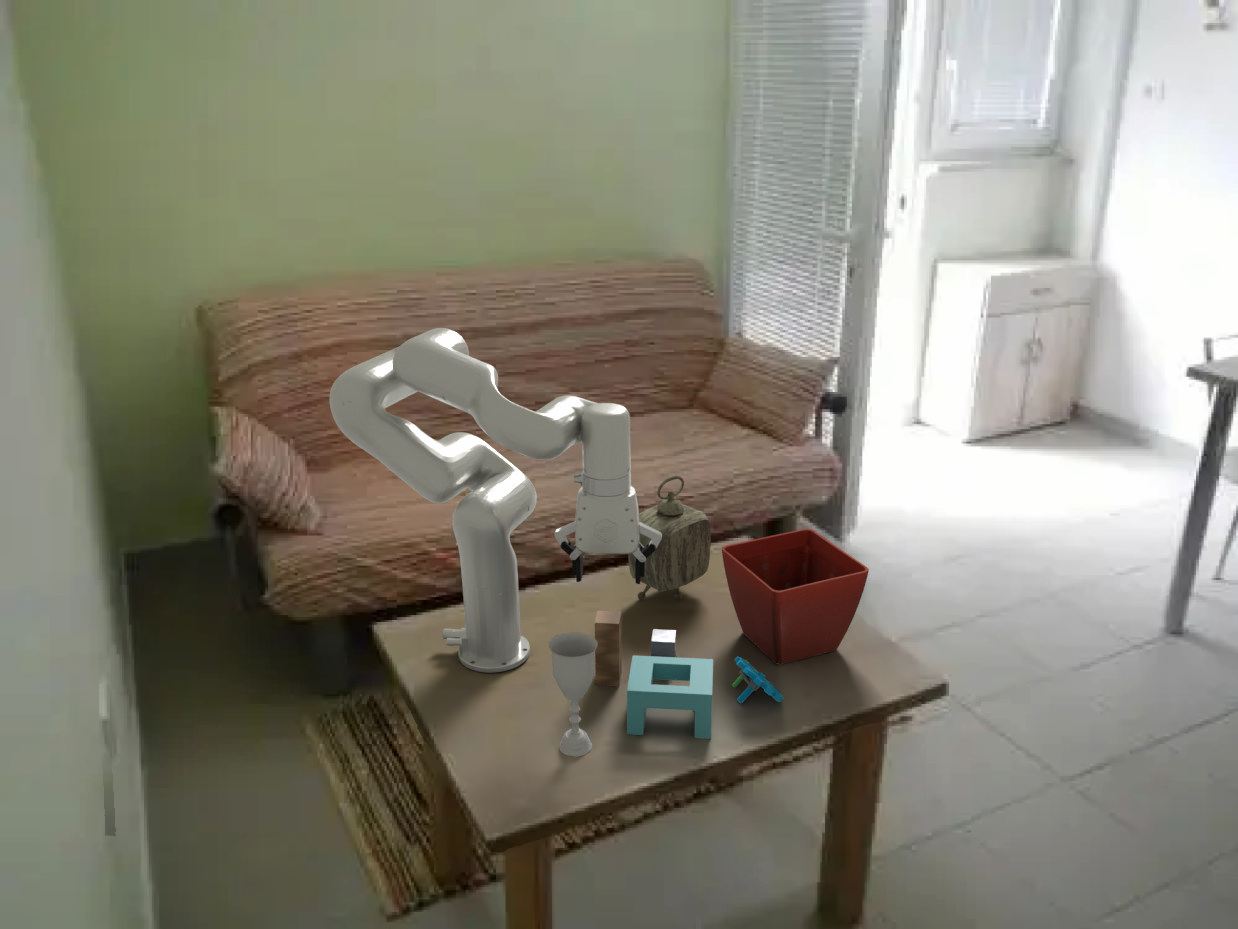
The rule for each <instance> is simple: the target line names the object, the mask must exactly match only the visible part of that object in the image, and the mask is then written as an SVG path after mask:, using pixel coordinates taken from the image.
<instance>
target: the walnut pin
mask: <svg viewBox="0 0 1238 929" xmlns="http://www.w3.org/2000/svg"><path fill="white" fill-rule="evenodd" d="M594 638H595V639H596V641H597V643H598V644H597V648H596V650H595V651H594V672H595V686H603V687H605V686H607V687H608V686H609V687H620V685H621V681H622V680H621V679H622V673H623V672H622V667H623V666H622V665H623V664H622V662H623V660H622V659H623V658H622V655H623V654H622V652H623V650H622V648H623V647H622V611H618V610H617V611H615V610H613V611H612V610H597V611H596V616H595V619H594Z"/></svg>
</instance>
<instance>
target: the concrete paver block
mask: <svg viewBox="0 0 1238 929" xmlns="http://www.w3.org/2000/svg"><path fill="white" fill-rule="evenodd" d="M650 641H651V644H650V646H651V647H650V649H651V650H650V651H651V652H650V653H651V656H656V657H676V655H677V654H676V651H677V648H676V647H677V630H676V629H657V628H653V629H652V635H651V640H650Z"/></svg>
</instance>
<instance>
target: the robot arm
mask: <svg viewBox="0 0 1238 929" xmlns="http://www.w3.org/2000/svg"><path fill="white" fill-rule="evenodd" d="M498 385H499V374H498V371H497V370H496V368H495V366H493V365H491V364H489V363H487V362H484V361H482V360H479V359H478V358H474V357H472V356H470V351H469V347H468V344H467V342H466V341H465V339H464V338H463V336H462V335H460V334H459V333H458V332H456V331H454V330H452V329H450V328H446V327H436V328H433V329H429V330H427V331H425V332H422V333H420V334H418V335H416V336H413V337H411V338H409V339H407V340H406V341H404V342H403V343H402V344H400V346H398V347H395V348H392V349H390V350H388V351H386V352H384V353H382V354H379V355H377V356H375V357H372V358H370V359H368V360H365V361H363V362H361V363H359V364H356V365H354V366H352V367H350V368H349V369H347V370H344V372H343V373H341V374H340V375H339V376H338V377H337V378H336V379H335V381H334V382H333V384H332V386H331V388H330V390H329V407H330V412H331V414H332V417H333V420H334V422H335V424H336V426H337V427H338V429H339V430H340V432H341V433H343V435H344V436H345V437H346V438H347V439H348V440H350V441H351V442H352V443H353V444H354V445H355V446H357V447H359V448H360V449H362V450H363V451H365V452H366V453H367V454H369V455H371V456H372V457H374V459H377V461H379V462H380V463H381V464H382V465H384V466H385V467H386V468H387V469H388V470H390V472H392V473H393V474H394V475H395V476H396V477H398V478H399V479H401V481H403V482H404V483H405V484H406V485H408V486H409V487H410V488H411V489H413V490H414V491H415V492H416V493H418V494H419V495H420V496H421V497H422V498H424V499H426V500H427V501H429V502H431V503H434V504H443V503H446V502H449V501H450V500H452V499H453V498H454V499H455V497H456V496H458V495H459V494H461V493H462V492H463V491H465V490H467V489H469V492H468V493H467V494H466V495H464V497H462V498H461V499H460V500H459V503H457V505H456V507H455V508H454V511H453V514H452V530H453V534H454V537H455V540H456V544H457V547H458V553H459V559H460V561H459V562H460V572H461V573H460V574H461V580H462V596H463V612H464V627H461V629H458V628H457V629H455V628H443V631H442V639H443V640H446V641H445V644H446V646H449V647H456V646H457V647H458V650H457V652H458V659H459V661H460V663H461V664H462V665H463V666H465V667H466V668H468V669H470V670H472V671H474V672H480V673H490V674H492V673H501V672H507V671H509V670H512V669H515V668H518V667H519V666H521V665H522V664H523V663H525V662H526V661H527V660H528V658H529V657H530V654H531V646H530V644H531V643H529V640H528V639H527V638H526V637H525V636H523V635H521V615H520V594H519V574H518V561H517V556H516V553H515V550H514V548H513V546H512V543H511V541H510V540H511V539H510V537H511V533H512V532H513V531H514V530H515V529H517V527H518V526H520V525H521V524H522V523H523V522H524V521H525V520H526V519H527V518H528V517H529V516H530V515H531V514H532V513H533V511H534V510H535V508H536V506H537V501H538V500H537V499H538V497H537V496H538V495H537V491H536V488H535V485H534V484H533V483H532V481H531V480H530V479H529V477H527V475H526V473H523V471H522V470H521V469H519V468H518V467H517V466H515V465H514V464H513V463H512V462H511V461H509V460H508V459H507V458H505V457H504V456H503V455H502V454H501V453H499V452H498V451H497V450H496V449H495V448H494V447H492V446H491V445H490V444H488V443H487V442H486V441H484V440H483V439H481V438H480V437H478V436H477V435H474V434H472V433H469V432H463V431H459V432H458V431H457V432H452V433H450V434H447V435H445V436H443V437H442V438H440V439H439V440H436V439H434V438H432V437H431V436H430V435H428V434H427V433H425V432H424V431H423V430H422V429H420V428H419V426H417V425H416V424H414V423H413V422H412V421H410V420H407V419H405V418H403V417H401V416H398V415H394V414H392V413H390V412H388V411H386V409H387V408H388V407H390V406H391V407H392V405H395V404H396V403H398V402H400V401H402V400H404V399H406V398H408V397H409V396H412V395H414V394H416V393H418V392H419V393H421V394H424V395H425V396H428V397H429V398H432V399H434V400H437V401H439V402H441V403H443V404H446V405H449V406H450V407H453V408H455V409H457V410H459V411H462V412H465V413H467V414H469V415H471V416H472V417H473V419H474V421H475V423H476V424H477V425H478V426H479V428H480V429H481V430H482V431H483V432H484V433H485V434H486V435H487V436H488V437H489V438H490V439H492V440H493V441H494V442H495V443H497V444H498V445H501V446H502V447H504V448H507V449H508V450H511V451H513V452H515V453H518V454H519V455H523V456H525V457H528V458H531V459H535V460H540V461H549V460H553V459H556V458H558V457H560V456H561V455H562V454H563V453H564V452H566V451H567V450H568V449H570V448H571V447H572V446H574V445H578V444H579V443H581V453H582V457H581V458H582V471H581V473H578V474H575V473H574V475H573V483H574V484H575V483H576V484H580V486H581V487H580V488H579V490H578V493H577V499H576V506H575V520H574V521H571V522H570V523H567V524H566V525H563V526H561V527H559V528H556V529H555V532H554V533H553V534H554V538H555V539H556V541H557V542H558V544H559V545H560V548H561V550H562V551H564V553H566V554H567V555H568V556H569V559H570V560H571V564H572V565H571V566H572V568H571V569H572V575H573V576H575V577H576V580H575V581H576V583H580V582H582V579H583V576H584V562H583V560H584V558H583V556H584V555H583V553H587V554H618V555H623V554H626V555H628V554H630V553H633V555H634V556H635V557H636V562H635V579H634V580H635V582H634V583H635V584H636V585H641V582H640V581H641V577H645V560H646V558H648V557H649V556H650V555H651V554H652V553H653V552H654V551H655V550H656V548H657V546H658V544H659V543H660V541H661V539H662V533H661V532H659V531H657V530H655V529H653V528H651V527H649V526H647V525H645V524H643V523H641V522H640V520H639V514H640V513H639V512H640V510H639V504H638V497H637V492H636V490H635V488H634V486H632V469H631V468H632V466H631V462H632V461H631V459H632V458H631V457H632V452H631V449H632V448H631V415H630V411H628V409H627V408H626V407H625V406H623V405H622V404H618V403H612V402H600V403H598V402H595V401H593V400H592V401H591V400H588V399H585V398H583V397H578V396H575V395H561V396H557V397H555V398H554V399H552V400H550V401H549V402H548V403H546V404H544V406H542V407H541V408H539V409H537V410H536V411H534V410H532V409H529V408H527V407H525V406H522V405H519V404H517V403H516V402H513V401H510V400H509V399H507V397H505V396H504V395H503V394H501V393H500V391H499V390H498ZM572 533H574V534H575V535H574V540H575V544H573V543H572V542H571V541H570V540H569V539H568V538H567V536H568V535H570V534H572ZM640 533H641V534H643V535H645V536H647V537H649V538H651V541H650V542H649V543H648V544H647V545H646V546H645V547H644V546H643V545H642V544H641V543H640V542H639V538H640Z"/></svg>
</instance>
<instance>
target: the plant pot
mask: <svg viewBox="0 0 1238 929" xmlns="http://www.w3.org/2000/svg"><path fill="white" fill-rule="evenodd" d="M721 555H722V556H721V557H722V561H723V567H724V572H725V577H726V582H727V587H728V591H729V595H730V598H731V601H732V604H733V608H734V611H735V614H736V617H737V620H738V622H739V625H740V628H741V631H742V633H743V635H745V636H746V638H748V639H749V640H750V641H751V642H752V643H753V644H754V645H755V646H756V648H758V649H760V651H762V652H763V653H764V654H765V655H766V656H767V657H768V658H769V659H770V660H771V661H772V662H773V663H775V664H777V665H783V664H787V663H791V662H797V661H800V660H803V659H808V658H810V657H811V658H812V657H815V656H819V655H822V654H827V653H831V652H835V651H837V649H838V648H839V646H840V645H841V643H842V641H843V640H844V638H845V636H846V634H847V632H848V631H849V628H850V626H851V624H852V622H853V619H854V617H855V615H856V612H857V610H858V607H859V605H860V602H861V600H862V599H861V598H862V595H863V593H864V590H865V586H866V583H867V581H868V580H867V579H868V576H869V570H870V569H869V567H867V566H866V565H864V563H862V562H860V561H859V560H857V559H856V558H855V557H853V556H852V555H850V554H848V553H847V552H845V551H844V550H843V549H841V548H839V547H838V546H837V545H835V544H834V543H833V542H831V541H829V540H828V539H826V538H825V537H823V535H821V534H819V532H816V531H815V530H814V529H811V528H804V529H798V530H797V529H796V530H794V531H788V532H783V533H779V534H774V535H769V536H764V537H759V538H755V539H751V540H746V541H741V542H735V543H731V544H726V545H724V546H722V547H721Z"/></svg>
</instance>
